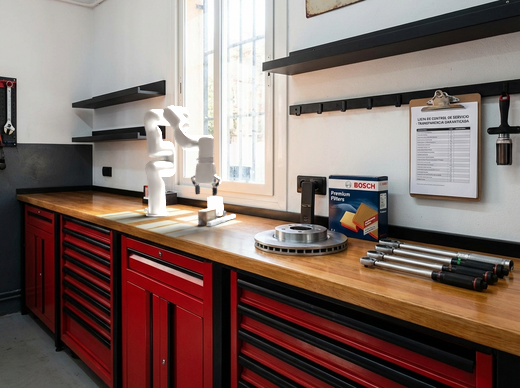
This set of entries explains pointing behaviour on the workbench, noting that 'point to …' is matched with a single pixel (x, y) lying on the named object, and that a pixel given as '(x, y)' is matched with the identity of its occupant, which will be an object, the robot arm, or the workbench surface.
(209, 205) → the mug
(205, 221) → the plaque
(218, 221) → the cleat rail
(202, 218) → the screw pegs
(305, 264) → the workbench surface
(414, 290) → the workbench surface
